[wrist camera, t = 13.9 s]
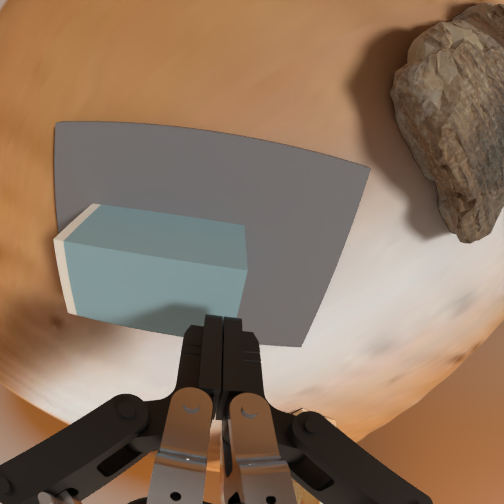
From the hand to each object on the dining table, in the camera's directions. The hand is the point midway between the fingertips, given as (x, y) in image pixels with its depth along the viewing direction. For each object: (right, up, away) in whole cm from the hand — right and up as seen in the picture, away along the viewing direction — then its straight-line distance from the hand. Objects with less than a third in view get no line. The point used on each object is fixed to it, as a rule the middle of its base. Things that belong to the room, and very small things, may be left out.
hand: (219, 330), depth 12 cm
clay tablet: (+19, +15, +1) cm, 24 cm away
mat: (-2, +4, +5) cm, 7 cm away
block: (+1, +2, +3) cm, 4 cm away
